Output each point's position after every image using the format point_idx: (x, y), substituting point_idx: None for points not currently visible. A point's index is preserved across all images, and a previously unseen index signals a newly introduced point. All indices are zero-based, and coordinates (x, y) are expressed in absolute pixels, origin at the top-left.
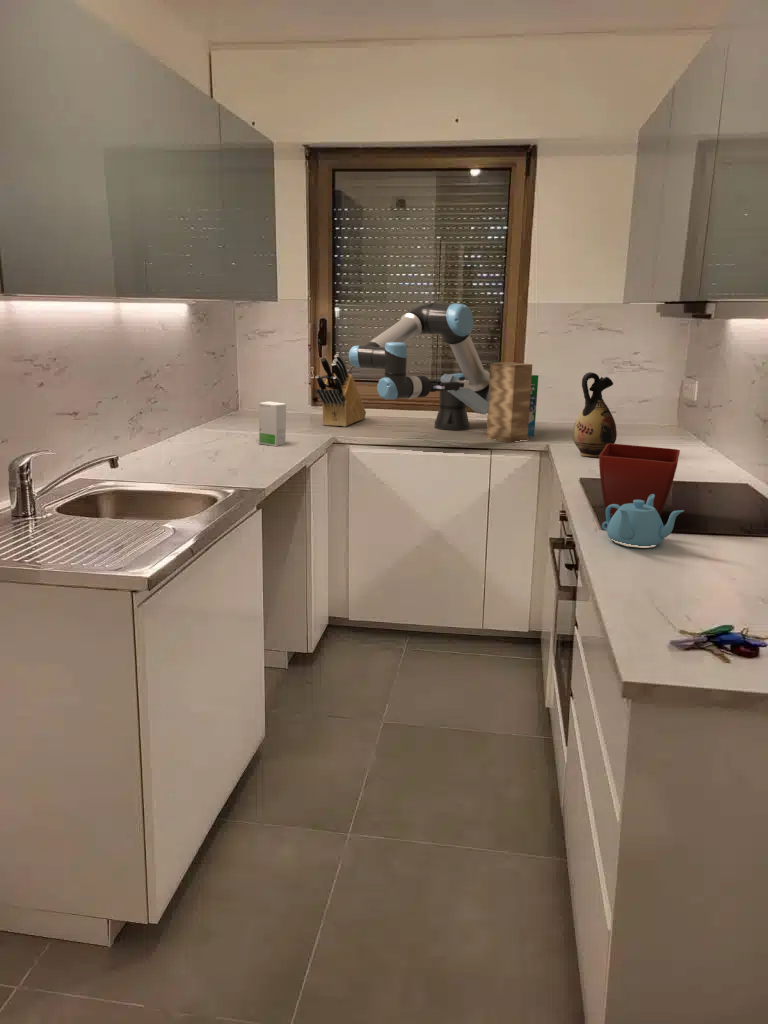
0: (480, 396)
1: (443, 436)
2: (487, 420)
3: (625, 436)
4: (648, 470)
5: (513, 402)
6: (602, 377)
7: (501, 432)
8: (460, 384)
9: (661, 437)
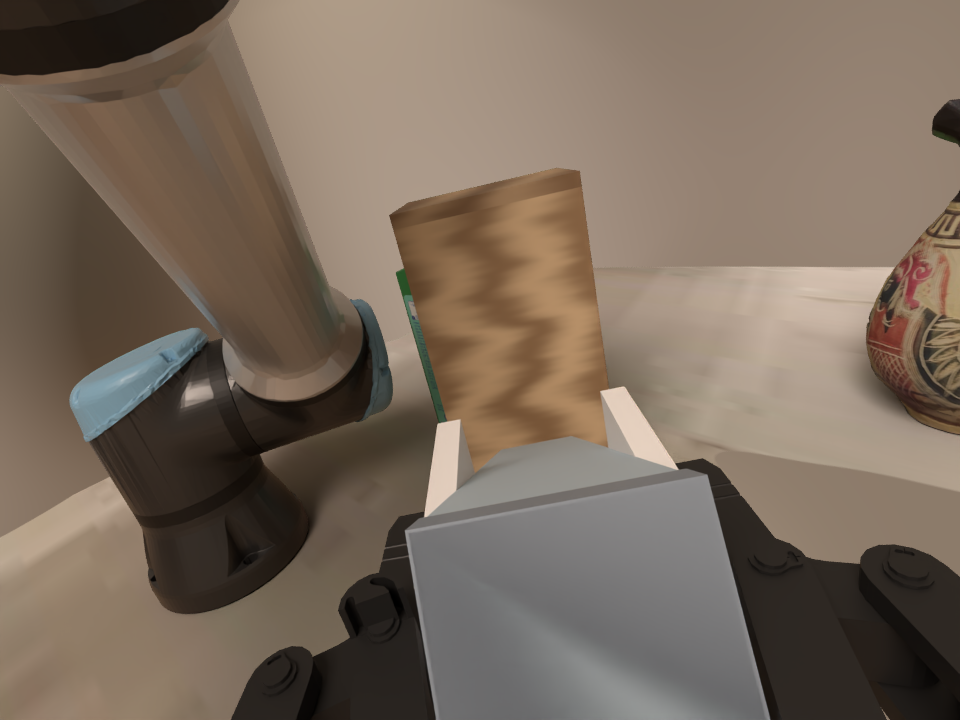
0: (582, 439)
1: None
2: None
3: (632, 313)
4: None
5: (604, 362)
6: (955, 101)
7: None
8: (752, 524)
9: (664, 287)
